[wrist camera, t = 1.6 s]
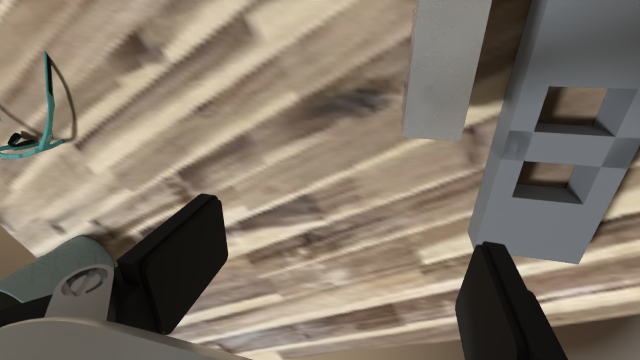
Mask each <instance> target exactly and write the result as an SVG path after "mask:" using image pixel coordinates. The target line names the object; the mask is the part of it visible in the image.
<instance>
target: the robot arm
mask: <svg viewBox="0 0 640 360" xmlns="http://www.w3.org/2000/svg"><path fill="white" fill-rule="evenodd" d="M227 258H228V248H227V241H226V233H225V226H224V218H223V211H222V204H221V201H220V200H218V198H217V196H215V195H209V194H200V195H198V196H197V197H196V198H194V199H193V200H192V201H191V202H189V203H188V204H187V205H186V206H184V207H183V208H182V209H181V210H179V211H178V212H177V213H175V214H174V215H173V216H172V217H170V218H169V219H168V220H167V221H165V222H164V223H163V224H162V225H160V226H159V227H158V228H157V229H155V230H154V231H153V232H152V233H150V234H149V235H148V236H147V237H145V238H144V239H143V240H142V241H140V242H139V243H138V244H137V245H135V246H134V247H133V248H132V249H130V250H129V251H128V252H126V253H125V254H124V255H123V256H121V257H120V258H119V259H118V260H116V261H117V264H118V266H117V267H116V268H115V269H112V267H111V266H108V265H105V264H96V265H90V266H87V267H84V268H81V269H78V270H76V271H74V272H72V273H71V274H69V275H68V276H66V277H65V278H63V279H62V280H61V281H60V282H59V283H58V285H57V286H56V288H55V290H54V293H53V294H51V295H47V296H44V297H41V298H38V299H34V300H31V301H28V302H24V303H21V304H18V305H14V306H11V307H8V308H4V309H1V310H0V360H252V359H248V358H245V357H241V356H238V355H234V354H231V353H227V352H223V351H220V350H216V349H212V348H209V347H205V346H202V345H198V344H194V343H191V342H187V341H183V340H180V339H176V338H173V337H169V336H165V335H168V334H170V333H171V332H172V331H173V330H174V329H175V327H176V326H177V325H178V324H179V322H180V321H181V320H182V318H183V317H184V316H185V314H186V313H187V312H188V311H189V309H190V308H191V307H192V305H193V304H194V303H195V301H196V300H197V299H198V298H199V296H200V295H201V294H202V292H203V291H204V290H205V288H206V287H207V286H208V284H209V283H210V282H211V281H212V279H213V278H214V277H215V275H216V274H217V273H218V271H219V270H220V269H221V268H222V266H223V265H224V264H225V262H226V260H227ZM455 311H456V317H457V322H458V327H459V332H460V337H461V342H462V347H463V351H464V357H465V360H568V359H567V357H566V355H565V353H564V351H563V349H562V347H561V345H560V343H559V341H558V339H557V338H556V336H555V334H554V332H553V330H552V328H551V326H550V324H549V322H548V320H547V318H546V316H545V314H544V312H543V310H542V308H541V306H540V304H539V303H538V301H537V299H536V297H535V295H534V294H533V293H532V292H531V291H529V290H527V288H526V286H525V284H524V282H523V280H522V278H521V276H520V274H519V272H518V270H517V268H516V266H515V264H514V262H513V260H512V258H511V256H510V254H509V252H508V250H507V248H506V246H505V245H504V244H500V243H494V242H488V241H484V242H483V243H482V245H480V244H477V245H476V246H475V249H474V252H473V255H472V257H471V260H470V263H469V266H468V269H467V272H466V274H465V277H464V280H463V283H462V286H461V289H460V291H459V294H458V297H457V300H456V305H455Z"/></svg>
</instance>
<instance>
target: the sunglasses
mask: <svg viewBox="0 0 640 360" xmlns="http://www.w3.org/2000/svg"><path fill="white" fill-rule="evenodd" d="M47 56H48V55H47V53H46V51H44V61H45V76H46V96H47V102H48V115H47V123H46V127H45V132H44V134H43V137H42V139H41V142H40V143H38V142H37V143H36V142H35V141H34V140H27V141H23V142H21V143H18V144H16V143H17V142H18V141H19V140H20V139H21V135H20V134H18V133H14V134H13V135H12V136H11V138H10V140H9V141H8V145H7V146H2V147H0V151H3V150H10V149H12V150H14V151H17V150H23V149H28V148H32V147H36V146H39V147H38V148H36V149H34V150H32V151H30V152H27V153H24V154H15V155H11V154H10V155H9V154H4V153H1V152H0V157H2V158H10V159H16V158H24V157H28V156H31V155H33V154H36V153H39V152H42V151H45V150H49V149H52V148H54V147H56V146H58V145H60V144H62V143H63V140H59V141H58V142H55V143H53V144H50V141H51V139H52V137H53V133H52V122H53V112H54V107H55V103H54V96H53V84H52V71H51V62H50V59H49V57H47ZM0 120H1V119H0ZM1 121H2V120H1ZM2 122H3V121H2ZM3 123H4V122H3Z"/></svg>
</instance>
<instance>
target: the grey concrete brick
mask: <svg viewBox="0 0 640 360" xmlns="http://www.w3.org/2000/svg"><path fill="white" fill-rule="evenodd" d="M491 3H492V0H417V1H416V7H415V9H414V11H413V19H412V27H411V35H410V37H412V41H411V49H410V58H409V66H408V74H407V82H406V86H404V93H403V101H402V122H401V126H402V137H405V138H420V139H434V140H449V141H461V137H462V133H463V128H464V124H465V119H466V115H467V110H468V106H469V101H470V97H471V92H472V88H473V83H474V79H475V74H476V70H477V65H478V61H479V57H480V52H481V48H482V43H483V39H484V34H485V30H486V25H487V21H488V16H489V12H490V7H491Z"/></svg>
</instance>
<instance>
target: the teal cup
mask: <svg viewBox="0 0 640 360" xmlns="http://www.w3.org/2000/svg"><path fill="white" fill-rule="evenodd" d="M96 264H105V265H108V266H111V267H112V269H114V261H113V260H112V257H111V255H110V254H109V253H108V251H107V250H106V249H105V248H104V247H103V246H102V245H100V244H99V243H98V242H96V241H95V240H93V239H91V238H88V237H85V236H78V237H74V238H72V239H70V240H68V241H67V242H65V243H63V244H61V245H60V246H58V247H57V248H55V249H54V250H53V251H51V252H49V253H47V254H46V255H43V256H41V257H39V258H38V259H37V260H35V261H34V262H32V263H30V264H28V265H26V266H24V267H22V268H20V269H18V270H16V271H15V272H13V273H11V274H10V275H8V276H6V277H4V278H3V279H1V280H0V310H1V309H4V308H8V307H11V306H14V305H18V304H21V303H24V302H28V301H31V300H34V299H38V298H41V297H44V296H47V295H51V294H53V293H54V290H55V288H56V286H57V285H58V283H59V282H60V281H61V280H62V279H63V278H65V277H66V276H68V275H69V274H71V273H72V272H74V271H76V270H78V269H81V268H84V267H87V266H90V265H96Z"/></svg>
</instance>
